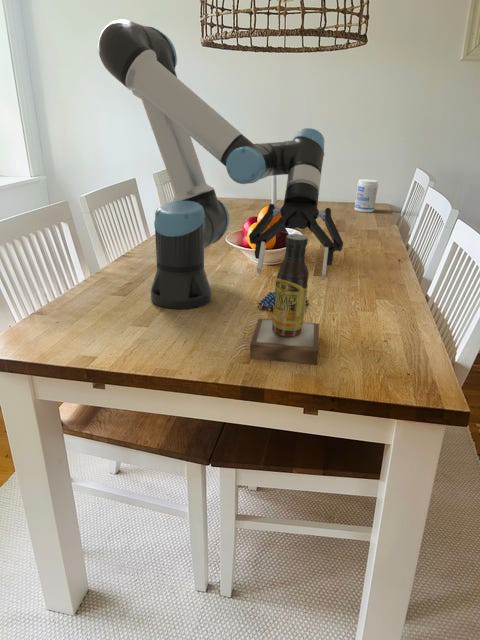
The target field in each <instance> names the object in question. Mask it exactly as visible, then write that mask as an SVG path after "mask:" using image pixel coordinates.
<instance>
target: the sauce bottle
mask: <svg viewBox="0 0 480 640" xmlns="http://www.w3.org/2000/svg"><path fill="white" fill-rule="evenodd" d="M308 239H309V238H308V236H306V235H303V234H299V233H298V234H297V233H296V234H295V233H292V234H291V233H290V234H288V235H286V238H285V253H284V259H283V262H282V264H281V266H280V267H279V269H278V272H277V276H276V278H275V286H274V287H275V289H274V292H275V296H274V307H273V309H272V330H273V331H274V333H276V334H277V335H280V336H285V337H293V336H297V335H299V334H300V333H301V329H302V327H303V322H304V319H305V311H306V306H305V304H306V297H307V293H308V281H309V275H310V271H309V269H308V266H307V264H306V261H305V259H306V250H307V249H306V247H307V245H308V242H309V241H308ZM306 305H307V304H306Z"/></svg>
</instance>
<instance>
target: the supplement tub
mask: <svg viewBox="0 0 480 640" xmlns="http://www.w3.org/2000/svg"><path fill="white" fill-rule="evenodd" d="M378 185H379V180H376V179H366V178H361V179H358V181H357V186H356V187H357V188H356V194H355V195H356V196H355V202H354V210H355V211H356V212H359V213H373V212H374V211H375V206H376V199H377V194H378V187H379V186H378Z"/></svg>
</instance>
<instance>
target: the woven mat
mask: <svg viewBox="0 0 480 640" xmlns="http://www.w3.org/2000/svg"><path fill="white" fill-rule="evenodd" d="M274 296H275V291H272V292H271V291H270V292H268V294H266V296H264V297H263V298H262V300H260V302H258V303H257V304H258V306H257V308H258V310H263V309H264V311H268V312H271V311H273V307H274ZM309 301H310V300H308V297H307V296H306V304H305V307H306V306H307V304H308V303H309Z"/></svg>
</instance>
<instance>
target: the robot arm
mask: <svg viewBox="0 0 480 640" xmlns="http://www.w3.org/2000/svg"><path fill="white" fill-rule="evenodd" d="M97 43H98V44H97V50H98V55H99V58H100V62H101V63H102V65H103V66H104V68H105V70H107V71H108V73H109V74H111V76H113V77H114V78H115V80H117V81H118V82H119V83H121V84H122V85H123V86H124V87H126V88H127V90H129V91H132V94H133V96H135V97H137V98H138V99H140V100H141V101H142V104H143V108H144V111H145V113H146V115H147V120H148V121H149V124H150V127H151V130H152V133H153V135H154V139H155V141H156V144H157V147H158V150H159V153H160V155H161V158H162V161H163V164H164V167H165V170H166V173H167V176H168V178H169V180H170V183H171V186H172V189H173V191H174V197H173V199H172V201H170V202H166V203H164V204H162V205H159V207H157V209H156V210H155V212H154V222H153V223H154V226H153V227H154V234H155V235H154V236H155V254H156V255H155V256H156V260H155V261H156V271H155V274H154V277H153V281H152V284H151V288H150V300H151V302H152V303H153V304H155V305H156V306H160V307H162V308H167V309H173V310H174V309H175V310H178V309H179V310H183V309H184V310H185V309H193V308H197V307H201V306H204V305H207V304H208V303H210V301H211V300H212V289H211V286H210V283H209V279H208V277H207V274H206V271H205V249H206V248H207V247H209V246H211V245H212V244H215V243H217V242H219V241H220V239H222V238H223V236H225V234H226V233H227V231H228V229H229V226H230V214H229V210H228V208H227V207H226V205H225V203H224V202H222V201H221V200H219V198H218V197H217V194H216V191H215V188H214V187H212V186H211V185H209V184H208V183H207V182H206V179H205V176H204V173H203V169H202V167H201V164H200V160H199V158H198V155H197V152H196V150H195V146H194V143H193V140H194V141H195V142H196V143H198V144H199V146H201V147H202V148H203V149H205V150H206V151H207V152H208V153H209V154H210V155H212V156H213V157H214V158H215V159H216V160H218V162H220V163H221V164H222V165H223V166H225V170H226V171H227V175H228V176H229V177H230V179H231V180H232V181H233V182H235V183H237V184H240V185H247V184H249V185H250V184H254V183H257V182H258V181H260V180H262V179H264V178H267V177H271V176H283V175H284V176H285V175H286V176H287V180H286V189H285V192H284V200H283V205H282V206H281V207H278V206H275V204H274V203H270V204H268V209H267V212H266V213H265V214H264V215H263V217H262V218H261V219H260V220H259V222H258V223H257V224H256V226H255V227H254V228H253V229H252V231H251V232H250V233H249V235H248V237H249V238H248V239H249V243H250V244H252V245H253V244H254V245H255V249H254V257H255V259H257V260H258V261H257V268H256V270H257V274H258V275H262V273H263V268H264V259H265V256H266V249H267V248H266V244H268V242H269V241H270V240H272V239H274V237H275V236H277V235H278V234H279V233H281V232H282V231H284V230H285V229H287V228H288V227H290V229H302V230H305V229H308V230H309V231H310V232H311V233H312V234H313V235H314V236H315V237H316V238H317V240H318V241H319V242H320V244H321V245H322V246H323V248H324V252H323V261H322V269H321V277H320V278H321V281H325V280H326V272H327V266H332V264H333V261H334V253H335V252H337V251H338V252H341V251H342V250H343V247H344V242H343V239H342V237H341V234H340V233H339V231H338V229H337V226H336V224H335V222H334V220H333V218H332V210H331V208H330V207H326V208H325V210H319V209H318V206H319V205H318V203H319V198H320V197H319V196H320V193H319V192H320V188H321V187H320V185H321V179H322V170H323V163H324V156H325V138H324V135H323V134H322V133H321V132H320V131H319V130H317V129H315V128H312V127H305V128H302V129H300V130H298V131H297V132H295V134H294V136H293V138H292V140H286V141H280V142H279V141H278V142H263V143H253V142H252V141H251V139H250V140H249V139H248V138H247V137H246V136H245V135H243V133H242V132H240V131H239V130H238V129H237V128H236V127H235V126H233V124H231V123H230V122H229V121H228V120H226V119H225V118H224V117H223V116H222V115H221V114H219V112H217V111H216V110H215V109H214V108H213V107H212V106H210V104H208V103H207V102H206V101H205V100H204V99H202V98H201V97H200V96H198V94H197V93H195V92H194V91H193V90H192V89H191V88H189V87H188V86H187V85H186V84H185V83H184V82H183V81H182V80H180V79H179V78H178V76H177V72H176V66H177V63H178V58H177V57H178V56H177V52H176V48H175V45H174V43H173V42H172V40H171V39H170V37H168V36H167V35H166V34H165V33H163V32H162V31H160V30H159V29H157V28H155V27H153V26H146V25H143V24H140V23H136V22H134V21H131V20H128V19H117V20H113V21H111V22H109V24H107V25H106V26H105V27H104V28H103V29H102V31H101V32H100V36H99V38H98V42H97ZM192 139H193V140H192ZM279 214H280V216H281V217H279V219H278V220H276V222H275V223H273V224H272V225H271V226H270V227H269V228H268V226H269V225H270V223H272V221H273V219H274V218H276V217H278V215H279ZM318 218H320V219H321V220H322V222H324V225H325V228H326V229H327V231H328V234H329V236H330V237H331V238H330V237H329V236H328V235H327V234H326V232H325V231H324V230H323V228H322V227H321V226H320V224H319V223H318V222H317V219H318Z"/></svg>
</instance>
